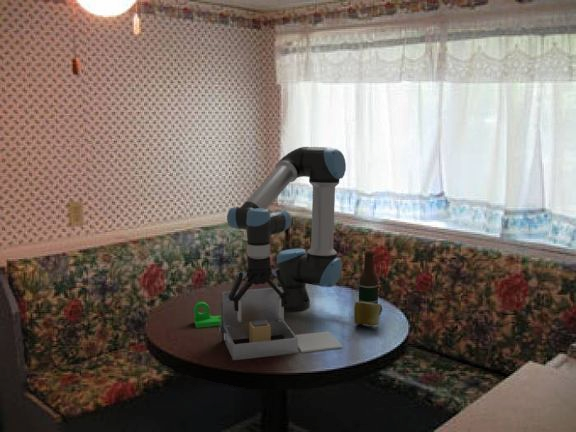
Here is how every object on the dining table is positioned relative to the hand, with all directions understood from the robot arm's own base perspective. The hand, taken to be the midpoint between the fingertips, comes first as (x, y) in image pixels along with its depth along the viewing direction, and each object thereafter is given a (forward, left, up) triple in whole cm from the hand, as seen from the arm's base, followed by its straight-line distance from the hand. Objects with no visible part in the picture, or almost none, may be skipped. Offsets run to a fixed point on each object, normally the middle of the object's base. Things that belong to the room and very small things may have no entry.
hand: (259, 318), depth 192 cm
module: (0, 0, -10) cm, 10 cm away
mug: (-42, -5, -10) cm, 43 cm away
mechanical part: (+13, -26, -10) cm, 31 cm away
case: (0, 0, -10) cm, 10 cm away
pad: (-19, +2, -10) cm, 22 cm away
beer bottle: (-49, -23, -10) cm, 55 cm away
